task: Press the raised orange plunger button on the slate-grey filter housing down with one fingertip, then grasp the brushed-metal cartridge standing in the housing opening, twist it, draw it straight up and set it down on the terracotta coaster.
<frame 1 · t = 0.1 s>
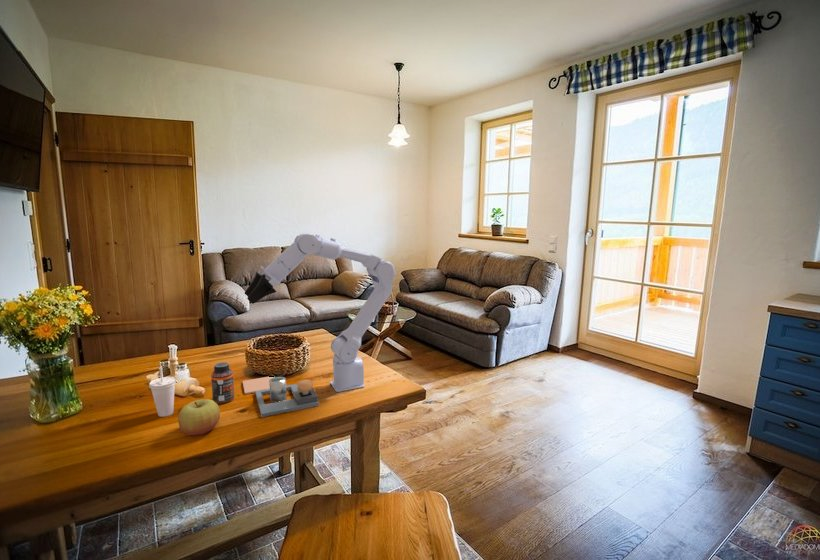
hand: (248, 298, 116), 32 cm above the table, tool tilted 50°, fingers open, 7 cm apart
apple: (200, 430, 106), on the table
housing: (286, 399, 123), on the table
supplement bottle: (224, 400, 123), on the table
plunger: (305, 388, 121), point 4 cm above the table, slide at 0.0 cm
coaster: (260, 385, 133), on the table
smoothie: (165, 414, 115), on the table
cartridge: (278, 398, 124), resting in housing
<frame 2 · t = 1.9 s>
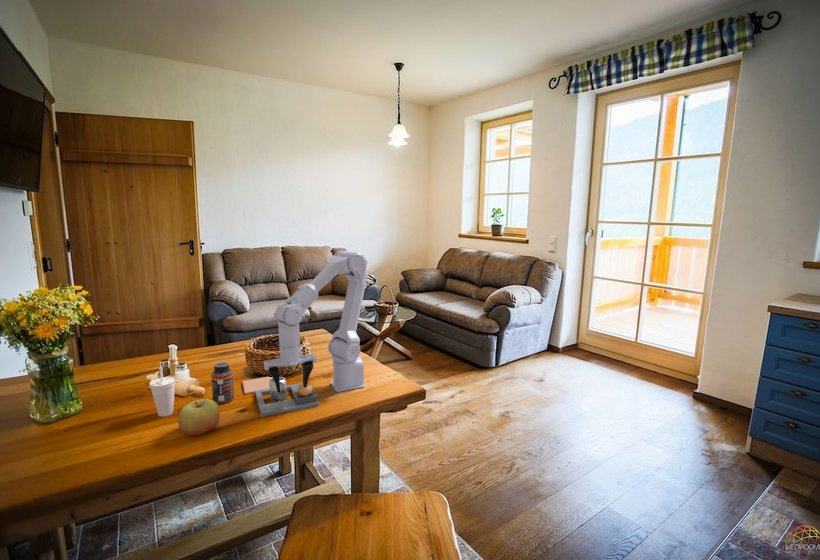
hand: (292, 388, 119), 5 cm above the table, tool pointing down, fingers open, 7 cm apart
plunger: (305, 391, 121), point 3 cm above the table, slide at -1.1 cm, touching gripper
everything else where it was.
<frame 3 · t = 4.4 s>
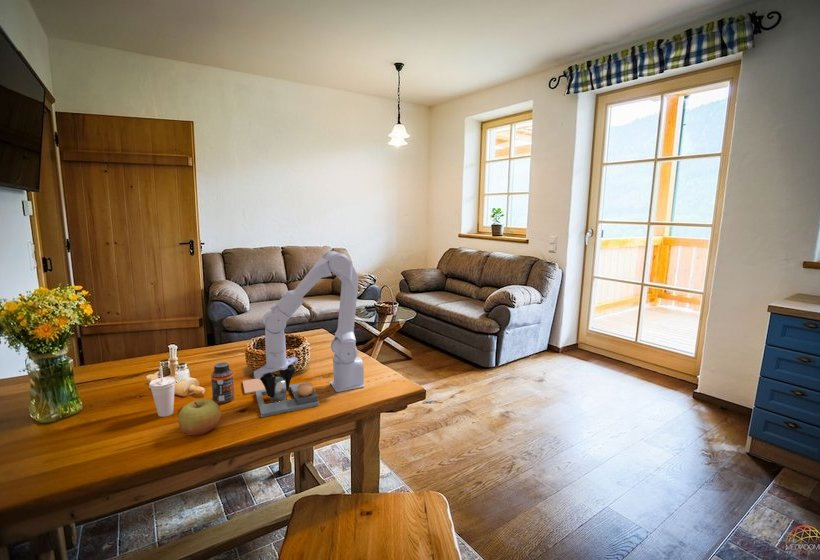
hand: (278, 393, 124), 2 cm above the table, tool pointing down, fingers closed on cartridge, 5 cm apart
plunger: (305, 391, 121), point 3 cm above the table, slide at -1.1 cm
cartridge: (278, 398, 124), resting in housing, touching gripper
everything else where it was.
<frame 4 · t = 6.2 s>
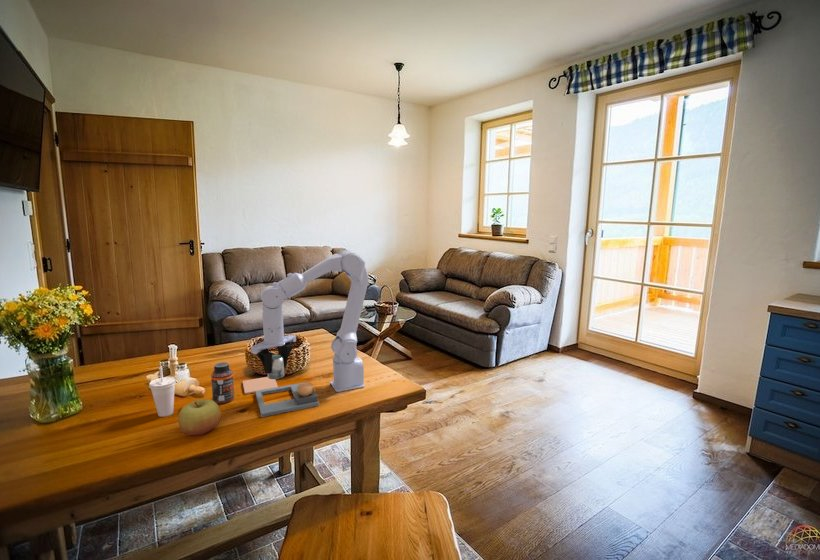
hand: (275, 370, 123), 9 cm above the table, tool pointing down, fingers closed on cartridge, 5 cm apart
cartridge: (276, 376, 123), point 7 cm above the table, touching gripper
everything else where it was.
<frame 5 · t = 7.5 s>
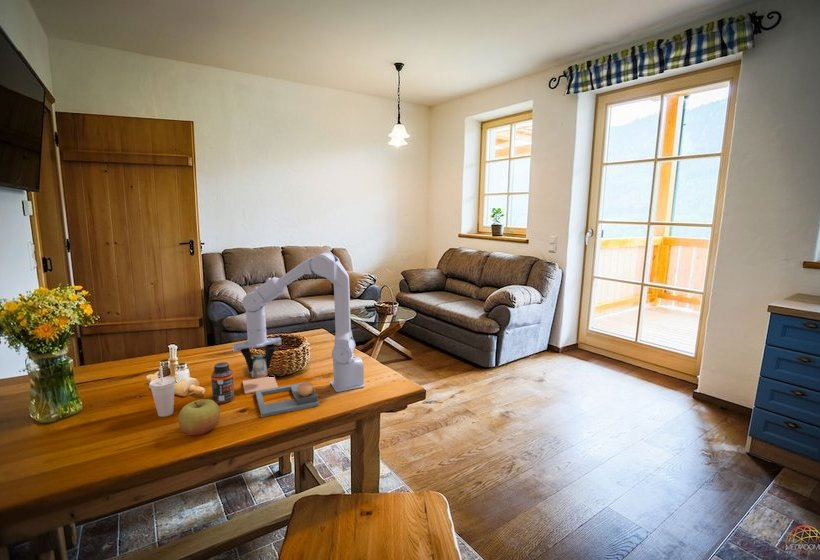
hand: (259, 368, 132), 6 cm above the table, tool pointing down, fingers closed on cartridge, 5 cm apart
cartridge: (259, 374, 132), point 4 cm above the table, touching gripper
everything else where it was.
when the fingers open (4 cm above the table, at t = 8.4 s): cartridge stays where it is, resting on coaster.
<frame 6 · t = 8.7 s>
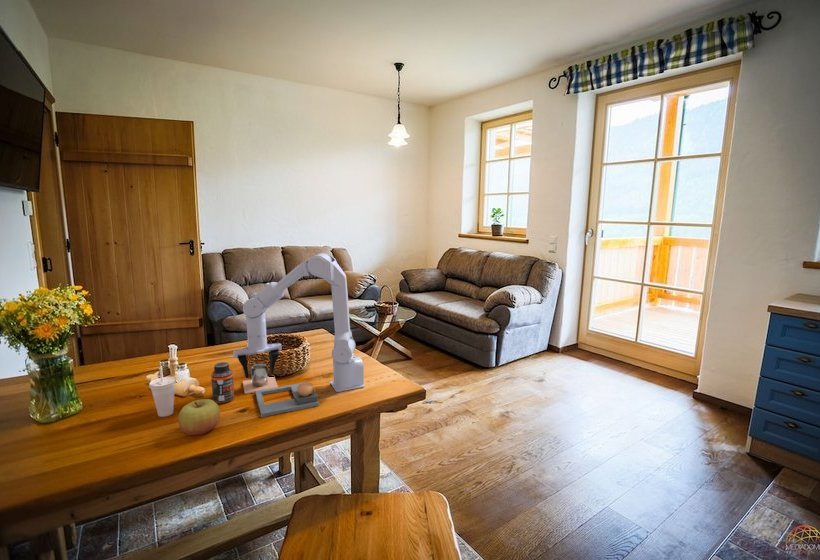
hand: (259, 374, 132), 4 cm above the table, tool pointing down, fingers open, 7 cm apart
cartridge: (260, 384, 133), point 1 cm above the table, touching coaster
everything else where it was.
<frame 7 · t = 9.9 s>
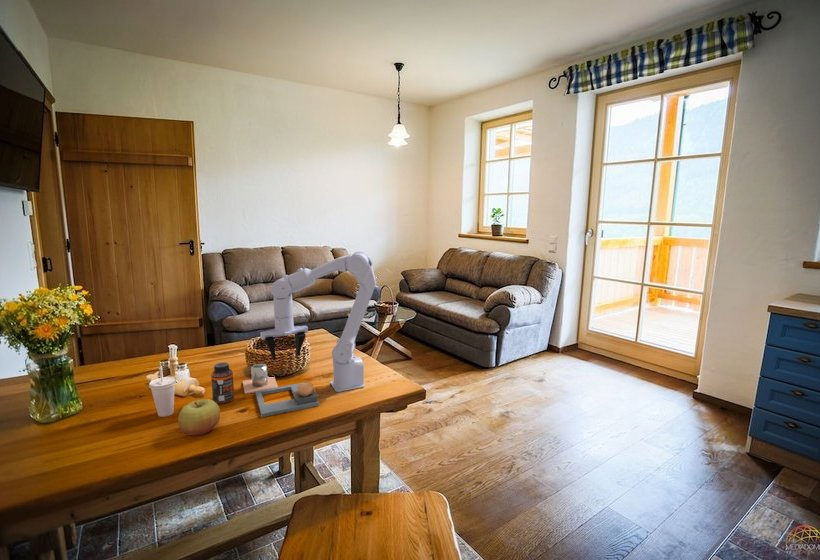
hand: (285, 357, 131), 10 cm above the table, tool pointing down, fingers open, 7 cm apart
nothing on the table moved.
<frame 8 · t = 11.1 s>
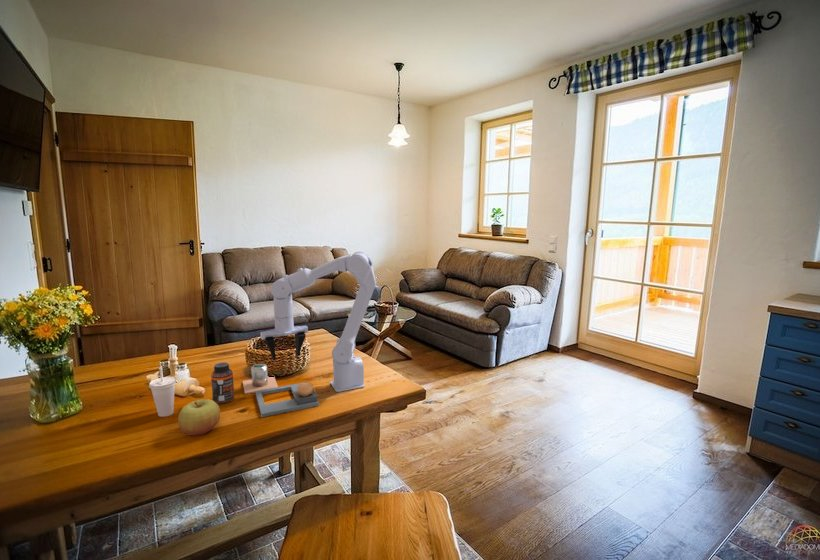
hand: (285, 357, 131), 10 cm above the table, tool pointing down, fingers open, 7 cm apart
nothing on the table moved.
at the end: cartridge inside the target area on the coaster (0.2 cm from its centre), point 0.6 cm above the coaster's base; cartridge tilted 1°; plunger slide at -1.1 cm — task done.
